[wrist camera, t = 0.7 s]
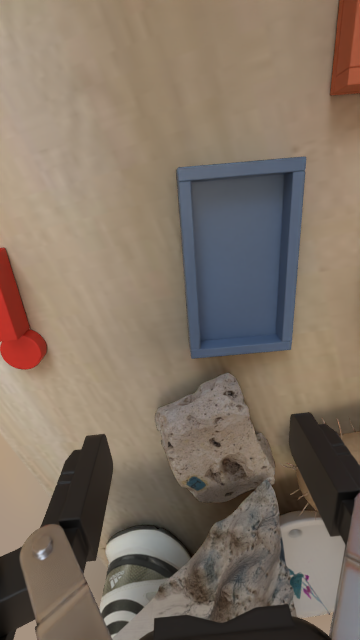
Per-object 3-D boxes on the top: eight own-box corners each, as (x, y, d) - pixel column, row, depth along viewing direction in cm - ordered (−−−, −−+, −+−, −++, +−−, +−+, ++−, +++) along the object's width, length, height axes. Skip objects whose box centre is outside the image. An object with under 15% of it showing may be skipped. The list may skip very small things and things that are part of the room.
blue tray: (176, 170, 20) (176, 167, 18) (294, 159, 20) (306, 156, 18) (189, 347, 25) (191, 359, 23) (282, 338, 25) (291, 350, 23)
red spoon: (-27, 250, 21) (-47, 256, 19) (17, 246, 21) (2, 251, 19) (14, 363, 25) (0, 378, 23) (51, 360, 25) (41, 374, 23)
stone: (286, 492, 28) (186, 523, 28) (262, 440, 33) (176, 466, 33) (282, 402, 21) (146, 444, 21) (251, 352, 26) (140, 385, 25)
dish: (357, 553, 38) (383, 602, 33) (248, 577, 39) (259, 628, 34) (346, 458, 31) (377, 504, 26) (214, 491, 32) (221, 540, 28)
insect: (349, 633, 23) (307, 582, 24) (304, 639, 26) (269, 593, 28) (370, 551, 29) (334, 513, 30) (330, 564, 32) (300, 530, 33)
